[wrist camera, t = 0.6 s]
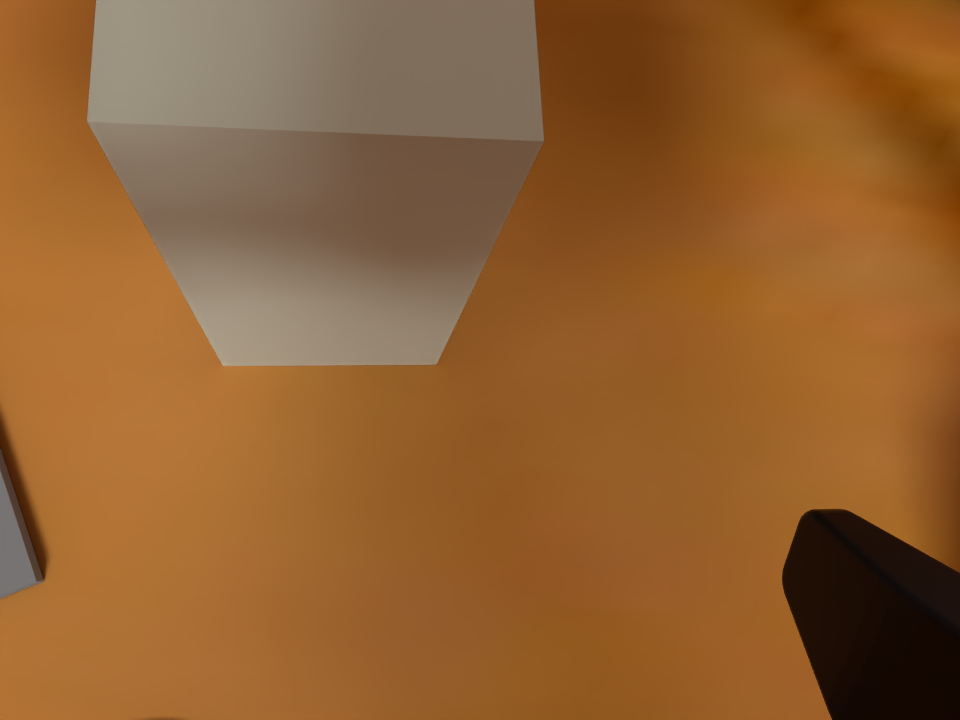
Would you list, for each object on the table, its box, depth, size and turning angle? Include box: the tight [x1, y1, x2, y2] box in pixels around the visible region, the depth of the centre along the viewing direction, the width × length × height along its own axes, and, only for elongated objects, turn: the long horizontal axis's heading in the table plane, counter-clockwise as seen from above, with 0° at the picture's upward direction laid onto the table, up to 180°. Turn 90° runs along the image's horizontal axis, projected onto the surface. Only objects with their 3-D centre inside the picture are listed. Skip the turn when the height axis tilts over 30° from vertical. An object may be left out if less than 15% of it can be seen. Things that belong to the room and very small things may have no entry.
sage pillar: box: [87, 0, 544, 366], centre depth 16 cm, size 6×6×12 cm
